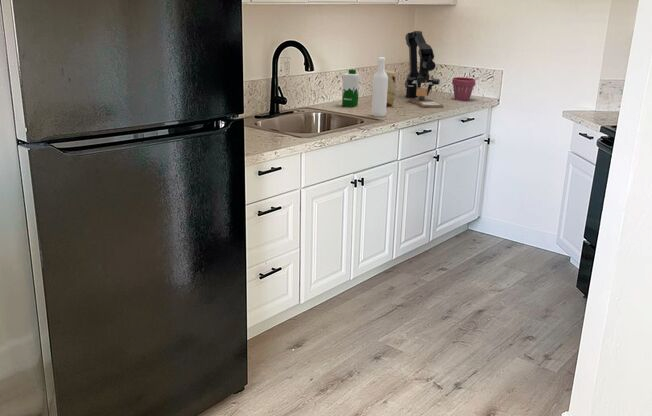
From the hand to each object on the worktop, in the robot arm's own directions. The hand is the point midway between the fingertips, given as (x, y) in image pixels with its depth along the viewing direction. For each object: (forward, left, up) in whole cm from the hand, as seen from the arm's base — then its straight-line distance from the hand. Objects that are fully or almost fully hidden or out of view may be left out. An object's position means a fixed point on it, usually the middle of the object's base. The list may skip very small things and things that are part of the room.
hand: (422, 95), depth 374 cm
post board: (+4, -4, -4) cm, 7 cm away
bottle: (-2, -53, -4) cm, 53 cm away
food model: (-12, -23, -4) cm, 26 cm away
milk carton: (-28, -38, -4) cm, 47 cm away
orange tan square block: (0, 0, 0) cm, 0 cm away
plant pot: (+15, +28, -4) cm, 32 cm away
